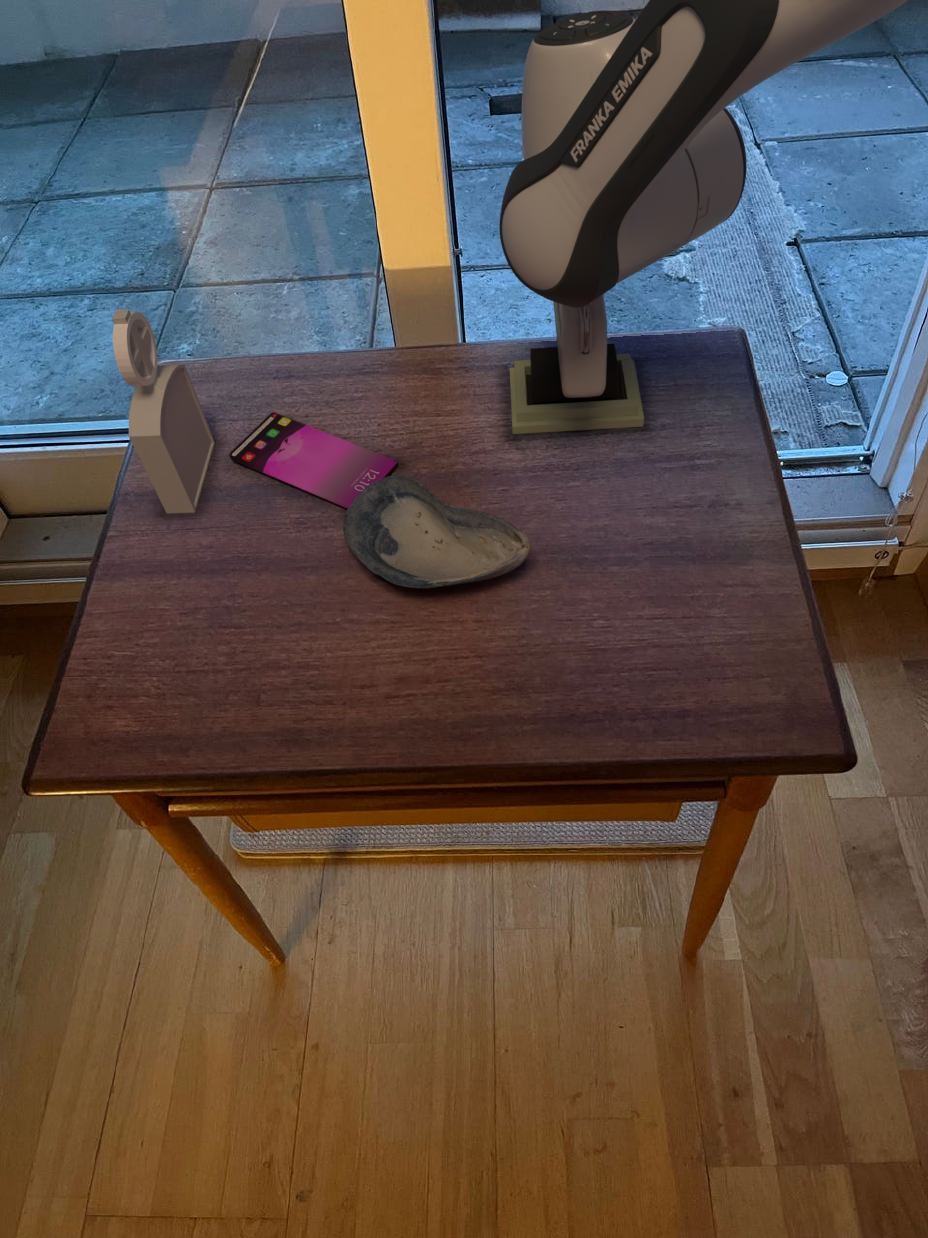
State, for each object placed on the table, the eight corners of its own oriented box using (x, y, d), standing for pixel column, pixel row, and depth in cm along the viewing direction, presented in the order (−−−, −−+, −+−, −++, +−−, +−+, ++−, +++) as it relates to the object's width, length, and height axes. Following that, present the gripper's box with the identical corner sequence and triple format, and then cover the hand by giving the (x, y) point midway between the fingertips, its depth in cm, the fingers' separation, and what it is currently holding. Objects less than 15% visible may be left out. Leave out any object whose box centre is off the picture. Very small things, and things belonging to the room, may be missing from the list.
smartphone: (276, 417, 91) (273, 410, 91) (400, 463, 86) (399, 456, 85) (229, 462, 88) (227, 455, 87) (356, 514, 82) (354, 507, 82)
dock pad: (633, 367, 92) (634, 349, 90) (643, 426, 87) (645, 408, 85) (509, 375, 93) (509, 357, 91) (512, 434, 87) (511, 416, 86)
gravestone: (215, 442, 90) (151, 279, 76) (195, 512, 84) (121, 350, 70) (188, 443, 90) (119, 280, 76) (166, 513, 85) (87, 351, 70)
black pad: (612, 368, 89) (614, 342, 87) (617, 397, 87) (619, 372, 84) (530, 373, 90) (530, 348, 87) (532, 403, 87) (532, 377, 85)
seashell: (515, 492, 83) (513, 451, 79) (535, 600, 75) (534, 560, 71) (347, 513, 83) (337, 473, 79) (350, 623, 75) (339, 584, 71)
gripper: (629, 307, 69) (619, 444, 80) (604, 171, 82) (598, 306, 93) (546, 313, 70) (547, 448, 81) (534, 176, 82) (536, 310, 93)
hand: (574, 371), depth 87 cm, fingers closed on black pad, 4 cm apart
